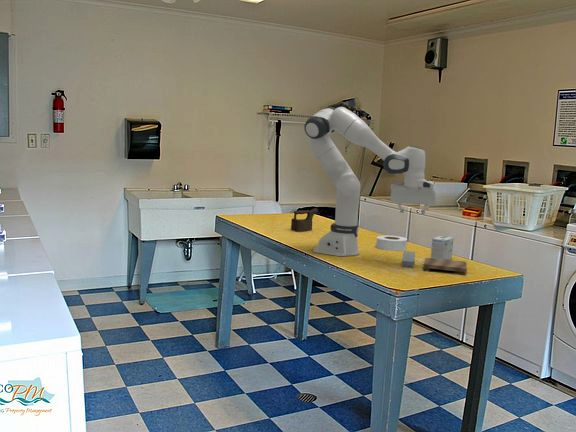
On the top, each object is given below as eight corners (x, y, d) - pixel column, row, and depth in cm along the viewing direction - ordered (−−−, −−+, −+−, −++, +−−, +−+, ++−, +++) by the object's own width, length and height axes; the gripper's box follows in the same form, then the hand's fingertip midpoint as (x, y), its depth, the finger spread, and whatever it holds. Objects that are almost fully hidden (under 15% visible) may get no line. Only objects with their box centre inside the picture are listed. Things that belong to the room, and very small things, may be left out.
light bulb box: (439, 256, 265) (441, 235, 263) (452, 259, 261) (454, 237, 259) (429, 259, 257) (431, 237, 255) (443, 262, 252) (445, 239, 251)
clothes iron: (319, 230, 324) (320, 209, 322) (296, 232, 316) (297, 209, 314) (312, 228, 331) (313, 207, 329) (290, 230, 322) (290, 208, 320)
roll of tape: (370, 245, 286) (371, 235, 285) (396, 244, 292) (396, 234, 291) (385, 251, 272) (386, 241, 271) (412, 250, 277) (413, 240, 276)
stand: (423, 270, 234) (423, 264, 234) (424, 263, 247) (425, 257, 247) (466, 275, 229) (466, 268, 228) (465, 268, 242) (466, 261, 242)
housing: (401, 267, 240) (402, 254, 239) (403, 263, 247) (404, 250, 246) (413, 268, 238) (414, 255, 237) (414, 264, 246) (415, 251, 245)
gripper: (389, 182, 239) (387, 212, 241) (436, 184, 232) (434, 216, 234) (392, 181, 245) (390, 211, 247) (438, 183, 237) (436, 214, 239)
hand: (412, 213), depth 240 cm, fingers open, 8 cm apart
